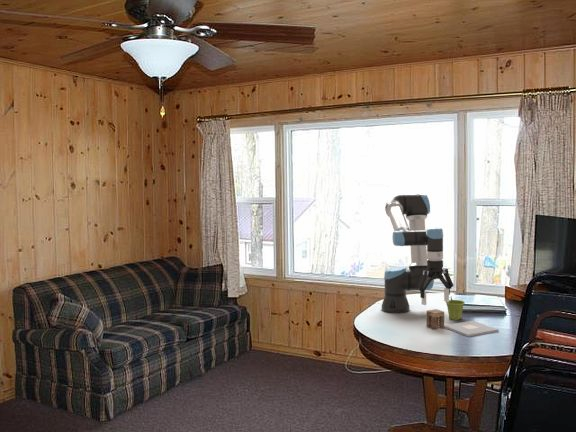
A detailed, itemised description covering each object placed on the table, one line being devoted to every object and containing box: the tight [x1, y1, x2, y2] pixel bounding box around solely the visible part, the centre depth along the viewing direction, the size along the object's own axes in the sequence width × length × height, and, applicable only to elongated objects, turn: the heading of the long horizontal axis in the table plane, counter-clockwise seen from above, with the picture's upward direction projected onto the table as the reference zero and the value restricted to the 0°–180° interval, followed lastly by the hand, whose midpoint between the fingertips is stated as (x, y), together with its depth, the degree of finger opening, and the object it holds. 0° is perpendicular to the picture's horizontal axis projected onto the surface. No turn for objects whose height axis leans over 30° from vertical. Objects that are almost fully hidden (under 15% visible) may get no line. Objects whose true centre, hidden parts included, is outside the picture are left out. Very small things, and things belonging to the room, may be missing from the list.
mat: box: [443, 320, 499, 338], centre depth 274 cm, size 18×18×1 cm
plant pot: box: [445, 299, 466, 321], centre depth 294 cm, size 9×9×9 cm
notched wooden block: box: [425, 308, 445, 330], centre depth 279 cm, size 6×6×8 cm
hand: (435, 303), depth 278 cm, fingers open, 13 cm apart
